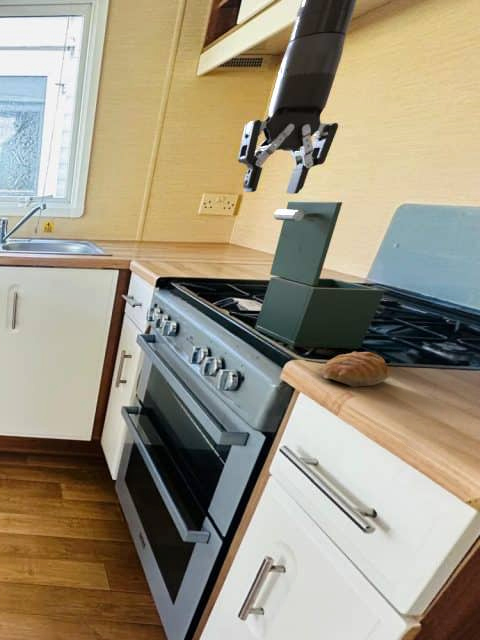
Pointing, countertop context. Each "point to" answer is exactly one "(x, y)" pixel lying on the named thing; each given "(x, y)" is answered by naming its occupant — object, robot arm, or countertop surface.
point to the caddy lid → (304, 240)
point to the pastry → (357, 369)
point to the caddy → (318, 312)
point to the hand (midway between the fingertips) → (271, 192)
